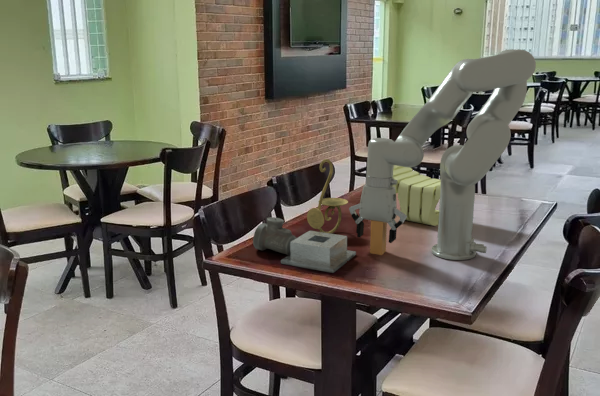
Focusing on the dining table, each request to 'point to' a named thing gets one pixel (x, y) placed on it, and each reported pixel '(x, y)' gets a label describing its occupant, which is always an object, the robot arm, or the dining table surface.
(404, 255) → the dining table surface
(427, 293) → the dining table surface
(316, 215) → the wall sconce
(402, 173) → the slatted curved stool
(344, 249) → the square hole block
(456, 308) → the dining table surface
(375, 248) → the orange rectangular block
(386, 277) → the dining table surface
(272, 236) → the pipe fitting
